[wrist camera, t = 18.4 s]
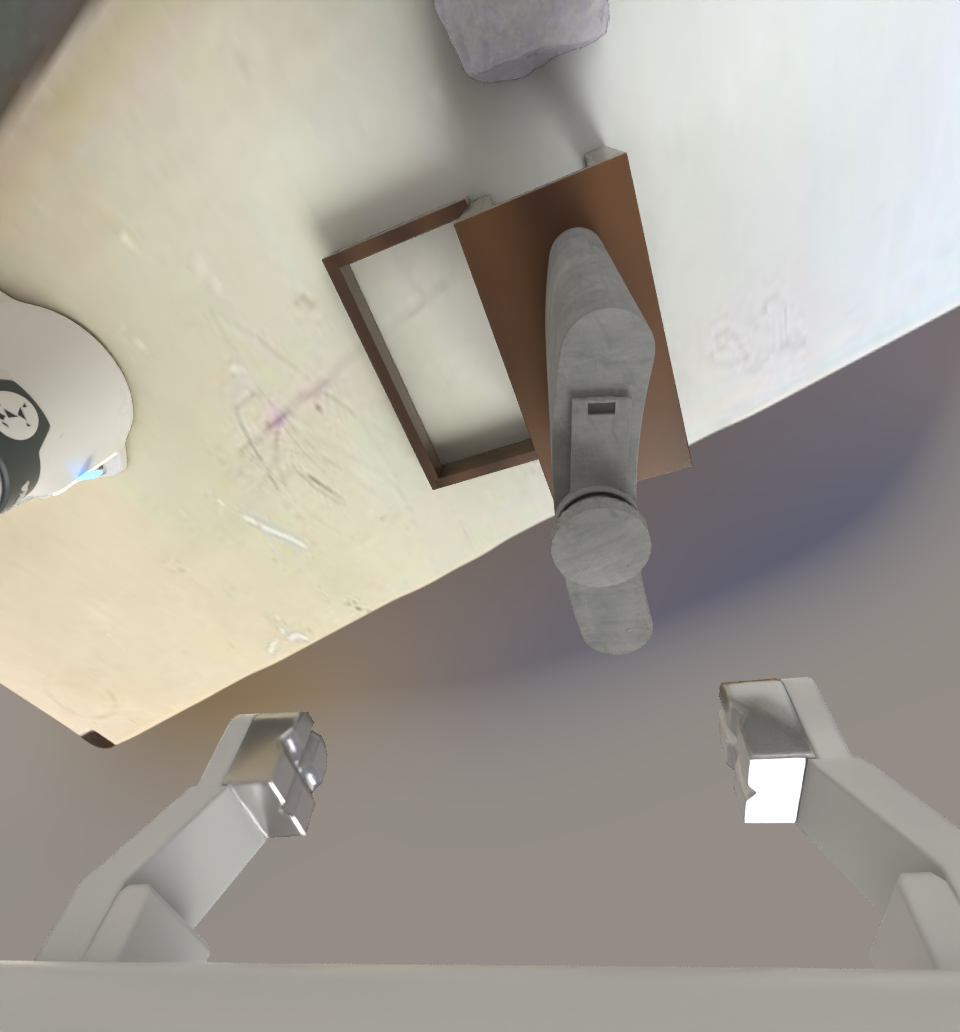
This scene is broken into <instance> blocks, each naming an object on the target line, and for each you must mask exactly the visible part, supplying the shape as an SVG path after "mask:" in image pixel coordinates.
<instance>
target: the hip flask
mask: <svg viewBox="0 0 960 1032" xmlns="http://www.w3.org/2000/svg"><path fill="white" fill-rule="evenodd" d="M545 337H546V358H547V379H548V400H549V420H550V441H551V461H552V482H553V499H554V510H555V524H554V526H553V531H552V533H551V537H552V539H551V544H552V547H551V551H552V558H553V560H554V564H555V565H556V567H557V568H558V570H559V571H560V572H561V573H563V575H564V578H565V582H566V586H567V590H568V594H569V598H570V602H571V605H572V608H573V611H574V614H575V617H576V620H577V623H578V626H579V628H580V631H581V634H582V636H583V638H584V640H585V642H587V644H588V645H589V646H590V647H592V648H593V649H595V650H597V651H599V652H602V653H607V654H624V653H628V652H632V651H634V650H637V649H638V648H640V647H642V646H643V645H644V644H645V643H646V642H647V641H648V640H649V638H650V637H651V634H652V631H653V624H652V619H651V615H650V611H649V607H648V602H647V598H646V594H645V590H644V585H643V581H642V577H641V569H642V568H643V567H644V566H645V565H646V562H647V560H648V559H649V557H650V552H651V540H650V534H649V532H648V531H647V529H648V527H647V525H646V523H645V519H644V518H643V517H642V516H641V513H640V512H639V511H638V509H637V506H636V483H637V463H638V452H639V441H640V433H641V425H642V417H643V411H644V405H645V400H646V394H647V389H648V384H649V380H650V375H651V371H652V367H653V362H654V357H655V341H654V337H653V334H652V331H651V329H650V328H649V326H648V324H647V322H646V320H645V319H644V317H643V315H642V313H641V311H640V310H639V308H638V306H637V304H636V302H635V301H634V299H633V297H632V295H631V293H630V292H629V290H628V288H627V286H626V285H625V283H624V281H623V279H622V277H621V276H620V274H619V272H618V270H617V268H616V267H615V265H614V263H613V261H612V259H611V258H610V256H609V254H608V252H607V250H606V249H605V247H604V245H603V243H602V242H601V240H600V238H599V237H598V236H597V234H595V233H594V232H593V231H591V230H589V229H587V228H583V227H575V228H571V229H568V230H566V231H564V232H563V233H561V234H560V235H559V236H558V237H557V238H556V240H555V241H554V243H553V245H552V247H551V250H550V254H549V263H548V272H547V285H546V303H545Z"/></svg>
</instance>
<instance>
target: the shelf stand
mask: <svg viewBox="0 0 960 1032" xmlns="http://www.w3.org/2000/svg"><path fill="white" fill-rule="evenodd" d="M585 159H586V164H587V167H586V168H583V169H581V170H578V171H576V172H574V173H571V174H569V175H566V176H564V177H562V178H559V179H557V180H554V181H552V182H549V183H547V184H545V185H542V186H540V187H537V188H535V189H533V190H530V191H528V192H525V193H523V194H521V195H518V196H516V197H513V198H511V199H509V200H506V201H504V202H501V203H499V204H497V205H494V206H493V203H492V200H491V196H490V195H487V196H485V197H483V198H480V199H478V200H475V201H473V202H470V199H469V196H465V197H463V198H461V199H458V200H456V201H454V202H451V203H449V204H446V205H444V206H442V207H439V208H437V209H435V210H432V211H430V212H428V213H425V214H423V215H421V216H418V217H416V218H414V219H411V220H409V221H407V222H404V223H402V224H399V225H397V226H395V227H392V228H390V229H388V230H385V231H383V232H381V233H378V234H376V235H374V236H371V237H369V238H367V239H364V240H362V241H360V242H357V243H355V244H352V245H350V246H348V247H345V248H343V249H341V250H338V251H336V252H334V253H331V254H330V255H328V256H327V257H325V258H324V259H322V261H323V263H324V265H325V267H326V270H327V272H328V274H329V276H330V278H331V280H332V282H333V284H334V286H335V288H336V290H337V292H338V294H339V296H340V299H341V301H342V303H343V305H344V307H345V309H346V311H347V313H348V315H349V317H350V319H351V321H352V323H353V325H354V328H355V330H356V332H357V334H358V336H359V338H360V340H361V342H362V344H363V346H364V348H365V350H366V352H367V355H368V357H369V359H370V361H371V363H372V365H373V367H374V369H375V371H376V373H377V375H378V377H379V379H380V381H381V384H382V386H383V388H384V390H385V392H386V394H387V396H388V398H389V400H390V402H391V404H392V406H393V408H394V411H395V413H396V415H397V417H398V419H399V421H400V423H401V425H402V427H403V429H404V431H405V433H406V435H407V437H408V440H409V442H410V444H411V446H412V448H413V450H414V452H415V454H416V456H417V458H418V460H419V462H420V464H421V467H422V469H423V471H424V473H425V475H426V477H427V479H428V481H429V483H430V485H431V487H432V489H433V490H435V489H438V488H442V487H445V486H448V485H452V484H455V483H459V482H462V481H465V480H469V479H472V478H476V477H479V476H482V475H486V474H489V473H493V472H496V471H500V470H503V469H506V468H510V467H513V466H517V465H520V464H523V463H527V462H530V461H534V460H537V459H539V462H540V464H541V467H542V470H543V473H544V475H545V478H546V481H547V484H548V486H549V489H550V492H551V495H552V497H553V482H552V461H551V441H550V420H549V400H548V379H547V358H546V337H545V303H546V285H547V272H548V263H549V254H550V250H551V247H552V245H553V243H554V241H555V240H556V238H557V237H558V236H559V235H560V234H561V233H563V232H564V231H566V230H568V229H571V228H575V227H583V228H587V229H589V230H591V231H593V232H594V233H595V234H597V236H598V237H599V238H600V240H601V242H602V243H603V245H604V247H605V249H606V250H607V252H608V254H609V256H610V258H611V259H612V261H613V263H614V265H615V267H616V268H617V270H618V272H619V274H620V276H621V277H622V279H623V281H624V283H625V285H626V286H627V288H628V290H629V292H630V293H631V295H632V297H633V299H634V301H635V302H636V304H637V306H638V308H639V310H640V311H641V313H642V315H643V317H644V319H645V320H646V322H647V324H648V326H649V328H650V329H651V331H652V334H653V337H654V341H655V357H654V362H653V367H652V371H651V375H650V380H649V384H648V389H647V394H646V400H645V405H644V411H643V417H642V425H641V433H640V441H639V452H638V463H637V481H641V480H644V479H648V478H652V477H655V476H659V475H663V474H666V473H670V472H674V471H677V470H681V469H685V468H688V467H692V461H691V456H690V451H689V446H688V442H687V437H686V432H685V427H684V423H683V418H682V413H681V408H680V404H679V399H678V394H677V389H676V385H675V380H674V375H673V370H672V366H671V361H670V356H669V351H668V347H667V342H666V337H665V332H664V328H663V323H662V318H661V313H660V309H659V304H658V299H657V294H656V290H655V285H654V280H653V275H652V271H651V266H650V261H649V256H648V252H647V247H646V242H645V237H644V233H643V228H642V223H641V218H640V214H639V209H638V204H637V199H636V195H635V190H634V185H633V180H632V176H631V171H630V166H629V161H628V157H627V153H625V152H622V151H619V150H616V149H613V148H610V147H607V146H604V147H601V148H599V149H596V150H594V151H592V152H589V153H587V154H585ZM457 219H458V220H457ZM454 220H457V221H456V222H455V224H454V227H455V230H456V232H457V235H458V238H459V241H460V243H461V246H462V249H463V252H464V254H465V257H466V260H467V263H468V265H469V268H470V271H471V274H472V277H473V279H474V282H475V285H476V288H477V290H478V293H479V296H480V299H481V301H482V304H483V307H484V310H485V312H486V315H487V318H488V321H489V323H490V326H491V329H492V332H493V335H494V337H495V340H496V343H497V346H498V348H499V351H500V354H501V357H502V359H503V362H504V365H505V368H506V370H507V373H508V376H509V379H510V381H511V384H512V387H513V390H514V392H515V395H516V398H517V401H518V404H519V406H520V409H521V412H522V415H523V417H524V420H525V423H526V426H527V428H528V431H529V434H530V437H531V439H528V440H525V441H522V442H518V443H515V444H512V445H508V446H505V447H502V448H498V449H495V450H492V451H489V452H485V453H482V454H479V455H475V456H472V457H469V458H466V459H462V460H459V461H456V462H452V463H449V464H446V465H441V463H440V461H439V458H438V456H437V454H436V452H435V450H434V448H433V445H432V443H431V441H430V439H429V437H428V435H427V432H426V430H425V428H424V426H423V424H422V422H421V419H420V417H419V415H418V413H417V411H416V409H415V406H414V404H413V402H412V400H411V398H410V396H409V393H408V391H407V389H406V387H405V385H404V383H403V380H402V378H401V376H400V374H399V372H398V370H397V367H396V365H395V363H394V361H393V359H392V357H391V354H390V352H389V350H388V348H387V346H386V344H385V341H384V339H383V337H382V335H381V333H380V331H379V328H378V326H377V324H376V322H375V320H374V318H373V315H372V313H371V311H370V309H369V307H368V305H367V302H366V300H365V298H364V296H363V294H362V292H361V289H360V287H359V285H358V283H357V281H356V279H355V276H354V274H353V272H352V270H351V268H350V266H349V264H351V263H353V262H356V261H358V260H361V259H363V258H365V257H368V256H370V255H373V254H375V253H377V252H380V251H382V250H385V249H387V248H389V247H392V246H394V245H397V244H399V243H401V242H404V241H406V240H409V239H411V238H413V237H416V236H418V235H421V234H423V233H425V232H428V231H430V230H433V229H435V228H437V227H440V226H442V225H445V224H447V223H449V222H452V221H454ZM553 500H554V499H553Z"/></svg>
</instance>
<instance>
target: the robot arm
mask: <svg viewBox="0 0 960 1032" xmlns="http://www.w3.org/2000/svg"><path fill="white" fill-rule="evenodd" d="M132 421H133V402H132V397H131V393H130V390H129V387H128V384H127V382H126V379H125V377H124V375H123V373H122V372H121V370H120V368H119V366H118V365H117V363H116V362H115V360H114V359H113V358H112V356H111V355H110V354H109V353H108V351H107V350H106V349H105V348H104V347H103V346H102V345H101V344H100V343H99V342H98V341H97V340H96V339H95V338H94V337H93V336H92V335H91V334H90V333H88V332H87V331H86V330H85V329H83V328H82V327H80V326H79V325H78V324H76V323H75V322H73V321H71V320H70V319H68V318H66V317H64V316H62V315H60V314H58V313H56V312H54V311H51V310H49V309H46V308H43V307H39V306H35V305H31V304H27V303H23V302H20V301H17V300H15V299H13V298H11V297H9V296H8V295H6V294H5V293H3V292H1V291H0V514H2V513H4V512H5V511H8V510H9V509H11V508H12V507H14V506H15V505H19V504H22V503H24V502H26V501H29V500H30V499H32V498H33V497H36V499H38V500H42V499H45V498H47V497H49V496H51V495H52V496H56V495H58V494H60V493H62V492H64V491H65V490H67V489H68V488H70V487H71V486H73V485H74V484H75V483H77V482H78V481H80V480H86V479H93V478H97V477H105V476H113V475H117V474H119V473H120V472H122V471H124V470H125V469H126V467H127V455H126V448H125V443H126V439H127V436H128V434H129V431H130V429H131V426H132ZM719 697H720V700H721V703H722V707H723V709H722V710H721V711H720V712H719V733H720V740H721V745H722V748H723V752H724V756H725V760H726V763H727V765H728V766H730V767H731V768H732V769H733V770H734V771H735V772H734V790H735V793H736V796H737V799H738V802H739V806H740V809H741V812H742V815H743V818H744V822H745V823H788V822H789V823H797V826H798V827H799V828H800V829H801V830H802V832H803V833H804V834H805V835H806V836H807V837H808V838H809V839H810V840H811V841H812V842H813V843H814V844H815V845H816V846H817V847H818V848H819V849H820V850H821V851H822V852H823V853H824V854H825V855H826V856H827V857H828V858H829V860H830V861H831V862H832V863H833V864H834V865H835V866H836V867H837V868H838V869H839V870H840V871H841V872H842V873H843V874H844V875H845V876H846V877H847V878H848V879H849V880H850V881H851V882H852V884H853V885H854V886H855V887H856V888H857V889H858V890H859V891H860V892H861V893H862V894H863V895H864V896H865V897H866V898H867V899H868V900H869V901H870V902H871V903H872V904H873V905H874V906H875V908H876V909H877V910H878V911H879V912H880V913H881V914H882V915H883V916H884V917H883V919H882V922H881V924H880V927H879V930H878V932H877V935H876V938H875V940H874V943H873V945H872V948H871V951H870V953H869V956H870V959H871V961H872V964H873V966H874V969H841V968H839V969H837V968H836V969H835V968H834V969H833V968H736V967H734V968H732V967H631V966H627V967H626V966H528V965H526V966H525V965H424V964H423V965H422V964H421V965H419V964H416V965H415V964H315V963H313V964H312V963H310V964H309V963H206V962H207V959H208V957H209V954H210V949H209V946H208V944H207V943H206V942H205V941H204V940H203V939H202V938H201V937H200V936H199V935H198V934H197V933H196V931H194V928H195V926H196V925H197V924H198V923H199V921H200V920H201V919H202V918H203V917H204V915H205V914H206V913H207V912H208V911H209V909H210V908H211V907H212V906H213V904H214V903H215V902H216V901H217V900H218V898H219V897H220V896H221V894H222V893H223V892H224V891H225V890H226V889H227V887H228V886H229V885H230V884H231V882H232V881H233V880H234V879H235V878H236V877H237V875H238V874H239V873H240V872H241V870H242V869H243V868H244V867H245V866H246V864H247V863H248V862H249V860H251V858H252V857H253V856H254V855H255V853H256V852H257V851H258V850H259V849H260V847H261V846H262V845H263V844H264V842H265V841H266V839H265V838H274V837H290V836H305V835H306V832H307V829H308V825H309V822H310V819H311V816H312V813H313V810H314V807H315V801H314V798H313V795H312V793H313V792H314V790H315V789H316V788H317V787H318V786H319V785H320V784H321V783H322V782H323V779H324V775H325V772H326V767H327V750H326V745H325V742H324V740H323V738H322V736H321V735H319V734H317V733H316V732H314V731H313V730H311V729H312V726H313V724H314V721H313V720H312V718H311V716H310V715H309V713H308V712H288V713H261V714H243V715H236V716H235V717H234V718H233V719H232V720H231V721H230V722H229V724H228V727H227V728H226V730H225V732H224V734H223V736H222V738H221V740H220V742H219V744H218V746H217V748H216V750H215V752H214V754H213V756H212V758H211V760H210V761H209V763H208V765H207V767H206V769H205V771H204V773H203V775H202V777H201V779H200V781H199V783H198V785H197V787H190V788H189V789H187V790H186V791H185V792H184V793H183V794H182V795H181V796H179V797H178V798H177V799H176V800H175V801H174V802H173V803H171V804H170V805H169V806H168V807H167V808H166V809H164V810H163V811H162V812H161V813H160V814H159V815H158V816H156V817H155V818H154V819H153V820H152V821H151V822H149V823H148V824H147V825H146V826H145V827H144V828H143V829H141V830H140V831H139V832H138V833H137V834H136V835H135V836H133V837H132V838H131V839H130V840H129V841H128V842H126V843H125V844H124V845H123V846H122V847H121V848H119V849H118V850H117V851H116V852H115V853H114V854H113V855H111V856H110V857H109V858H108V859H107V860H106V861H104V862H103V863H102V864H101V865H100V866H99V867H98V868H96V869H95V870H94V871H93V872H92V873H91V874H90V875H88V876H87V877H86V878H85V879H84V880H83V881H81V882H80V883H79V885H78V887H77V888H76V890H75V892H74V893H73V895H72V897H71V898H70V900H69V902H68V904H67V906H66V907H65V908H64V910H63V912H62V913H61V915H60V917H59V919H58V920H57V922H56V923H55V925H54V927H53V928H52V930H51V932H50V934H49V935H48V937H47V938H46V940H45V942H44V943H43V945H42V947H41V948H40V951H39V952H38V954H37V955H36V957H35V958H34V960H33V961H0V1032H960V828H958V827H957V826H955V825H954V824H953V823H951V822H950V821H949V820H947V819H946V818H945V817H943V816H942V815H941V814H939V813H938V812H936V811H935V810H934V809H932V808H931V807H929V806H928V805H927V804H926V803H924V802H923V801H922V800H920V799H919V798H917V797H916V796H914V795H913V794H912V793H911V792H909V791H908V790H906V789H905V788H903V787H902V786H901V785H900V784H898V783H897V782H896V781H894V780H893V779H891V778H890V777H889V776H887V775H886V774H885V773H883V772H882V771H881V770H879V769H878V768H877V767H875V766H874V765H873V764H871V763H870V762H868V761H867V760H866V759H864V758H863V757H852V755H851V753H850V751H849V749H848V747H847V745H846V743H845V741H844V739H843V737H842V735H841V733H840V731H839V729H838V727H837V726H836V724H835V722H834V720H833V718H832V716H831V714H830V712H829V710H828V708H827V706H826V704H825V702H824V700H823V698H822V696H821V694H820V692H819V690H818V688H817V686H816V684H815V682H814V681H813V680H812V679H811V678H810V677H801V678H786V679H779V680H778V679H764V680H752V681H739V682H727V683H721V685H720V692H719Z"/></svg>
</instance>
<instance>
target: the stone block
mask: <svg viewBox="0 0 960 1032" xmlns="http://www.w3.org/2000/svg"><path fill="white" fill-rule="evenodd" d="M434 4H435V8H436V12H437V14H438V16H439V18H440V20H441V22H442V24H443V26H444V28H445V30H446V31H447V32H448V34H449V39H450V42H451V43H452V45H453V46H454V47H455V49H456V51H457V53H458V56H459V59H460V61H461V63H462V67H463V70H465V72H466V74H467V75H468V76H470V78H472V79H474V80H477V81H480V82H484V83H489V82H497V81H500V80H508V79H510V80H513V79H517V78H523V77H525V76H526V75H528V74H529V73H531V72H532V71H533V70H534V69H536V68H537V67H539V66H542V65H543V64H544V63H546V62H547V61H548V60H550V59H552V58H554V57H555V56H557V55H559V54H562V53H566V52H569V51H571V50H574V49H578V48H582V47H585V46H587V45H589V44H591V43H592V42H595V41H596V40H597V39H598V38H599V37H601V36H602V35H604V34H605V33H606V31H607V27H608V21H609V20H610V16H609V2H608V0H434Z"/></svg>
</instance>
